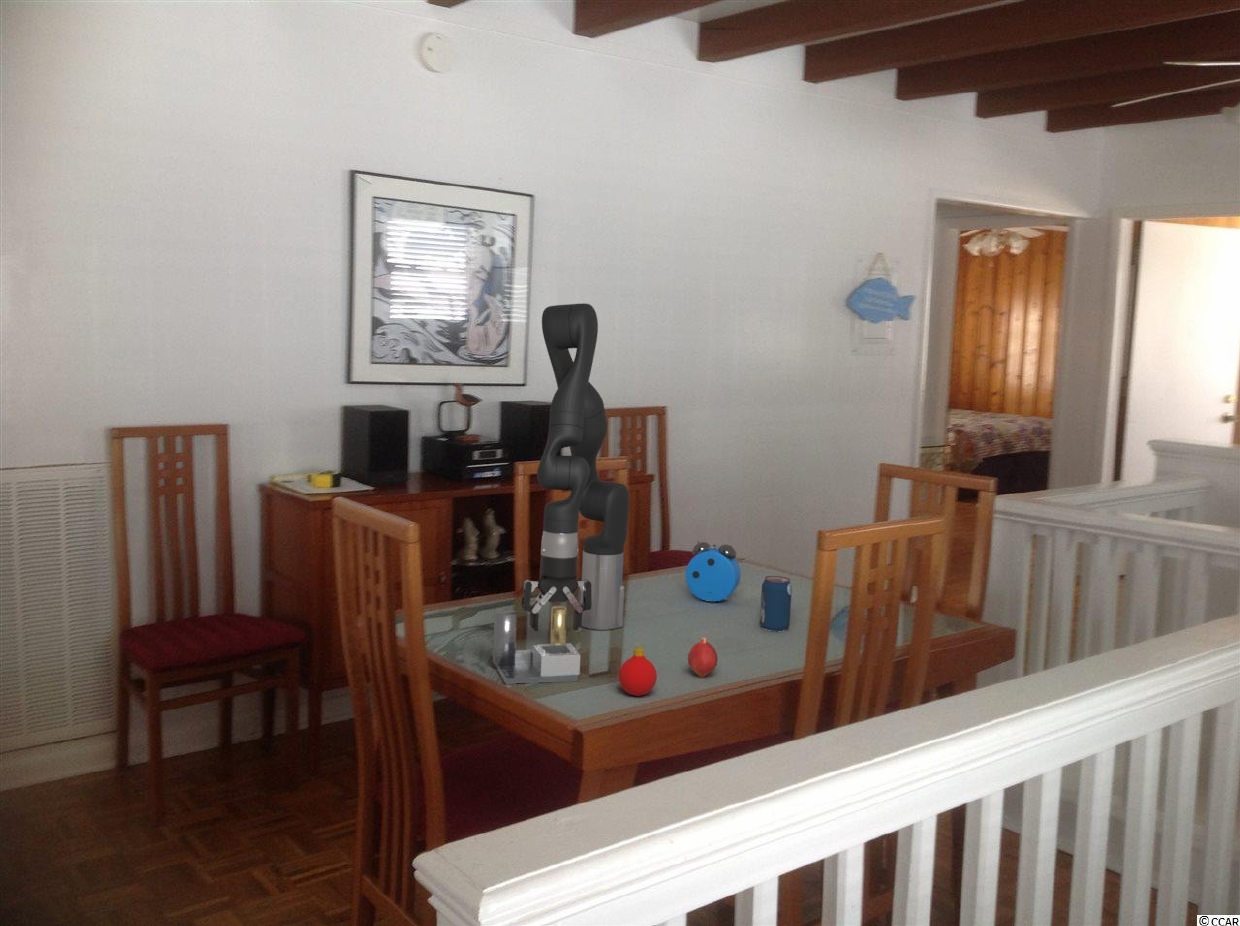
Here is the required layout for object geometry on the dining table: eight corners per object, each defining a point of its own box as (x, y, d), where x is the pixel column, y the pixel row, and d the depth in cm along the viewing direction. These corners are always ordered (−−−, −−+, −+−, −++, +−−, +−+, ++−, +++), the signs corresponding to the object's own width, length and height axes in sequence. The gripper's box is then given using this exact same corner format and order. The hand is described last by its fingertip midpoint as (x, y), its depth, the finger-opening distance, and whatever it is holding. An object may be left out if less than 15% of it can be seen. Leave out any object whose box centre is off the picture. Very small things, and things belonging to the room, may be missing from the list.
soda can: (795, 629, 251) (798, 579, 250) (777, 634, 246) (781, 583, 245) (770, 623, 256) (773, 573, 255) (753, 628, 251) (756, 577, 250)
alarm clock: (739, 601, 276) (742, 543, 274) (733, 606, 270) (737, 547, 269) (690, 594, 280) (693, 538, 279) (683, 599, 275) (686, 542, 273)
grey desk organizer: (564, 661, 218) (566, 607, 217) (579, 681, 207) (582, 624, 206) (490, 665, 214) (492, 610, 213) (502, 684, 203) (504, 626, 201)
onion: (685, 671, 216) (687, 633, 215) (713, 672, 216) (715, 633, 215) (689, 681, 210) (691, 641, 209) (718, 681, 211) (720, 642, 210)
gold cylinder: (563, 652, 225) (565, 605, 224) (566, 656, 222) (568, 609, 221) (548, 653, 224) (549, 606, 223) (551, 657, 221) (553, 610, 220)
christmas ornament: (651, 688, 205) (654, 637, 204) (659, 700, 198) (662, 648, 197) (615, 688, 204) (617, 636, 203) (621, 701, 197) (623, 648, 196)
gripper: (588, 549, 226) (584, 624, 228) (521, 549, 222) (517, 625, 224) (597, 556, 219) (593, 634, 221) (528, 556, 215) (524, 635, 217)
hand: (555, 630), depth 222 cm, fingers open, 8 cm apart
